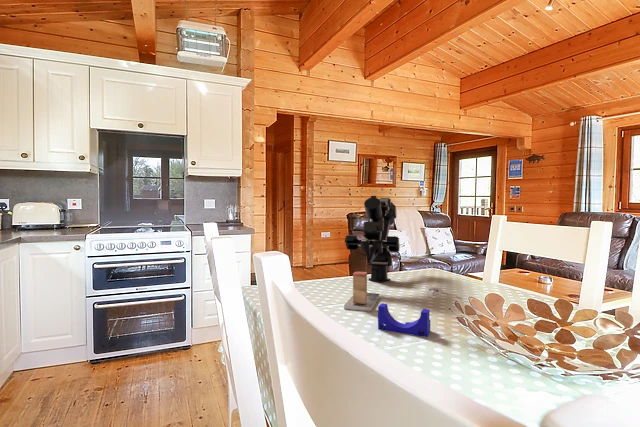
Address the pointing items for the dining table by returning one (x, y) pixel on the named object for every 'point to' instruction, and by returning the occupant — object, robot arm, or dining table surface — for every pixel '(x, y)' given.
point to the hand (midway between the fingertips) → (368, 262)
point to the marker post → (360, 287)
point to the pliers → (435, 288)
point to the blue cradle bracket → (412, 328)
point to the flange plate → (368, 306)
